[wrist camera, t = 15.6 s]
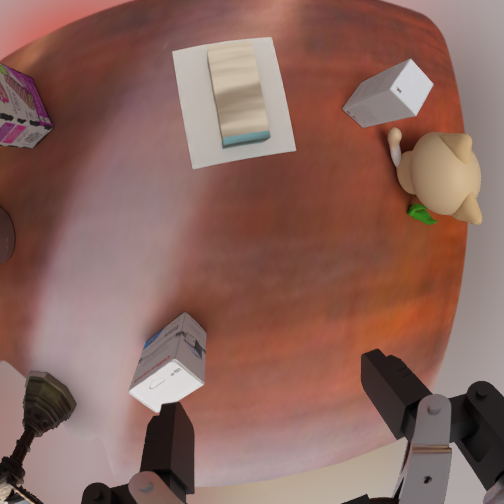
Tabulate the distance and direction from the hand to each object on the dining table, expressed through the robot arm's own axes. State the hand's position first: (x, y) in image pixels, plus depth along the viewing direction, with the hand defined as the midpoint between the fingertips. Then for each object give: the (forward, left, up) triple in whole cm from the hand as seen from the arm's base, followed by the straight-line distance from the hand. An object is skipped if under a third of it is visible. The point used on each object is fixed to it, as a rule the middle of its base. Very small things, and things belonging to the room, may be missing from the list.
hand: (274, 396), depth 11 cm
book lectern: (-17, -41, -27) cm, 52 cm away
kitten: (+18, +22, -27) cm, 39 cm away
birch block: (-5, +11, -24) cm, 27 cm away
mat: (-9, +16, -27) cm, 33 cm away
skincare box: (+6, +26, -27) cm, 38 cm away
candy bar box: (-36, +4, -27) cm, 45 cm away
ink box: (-1, -16, -27) cm, 32 cm away
